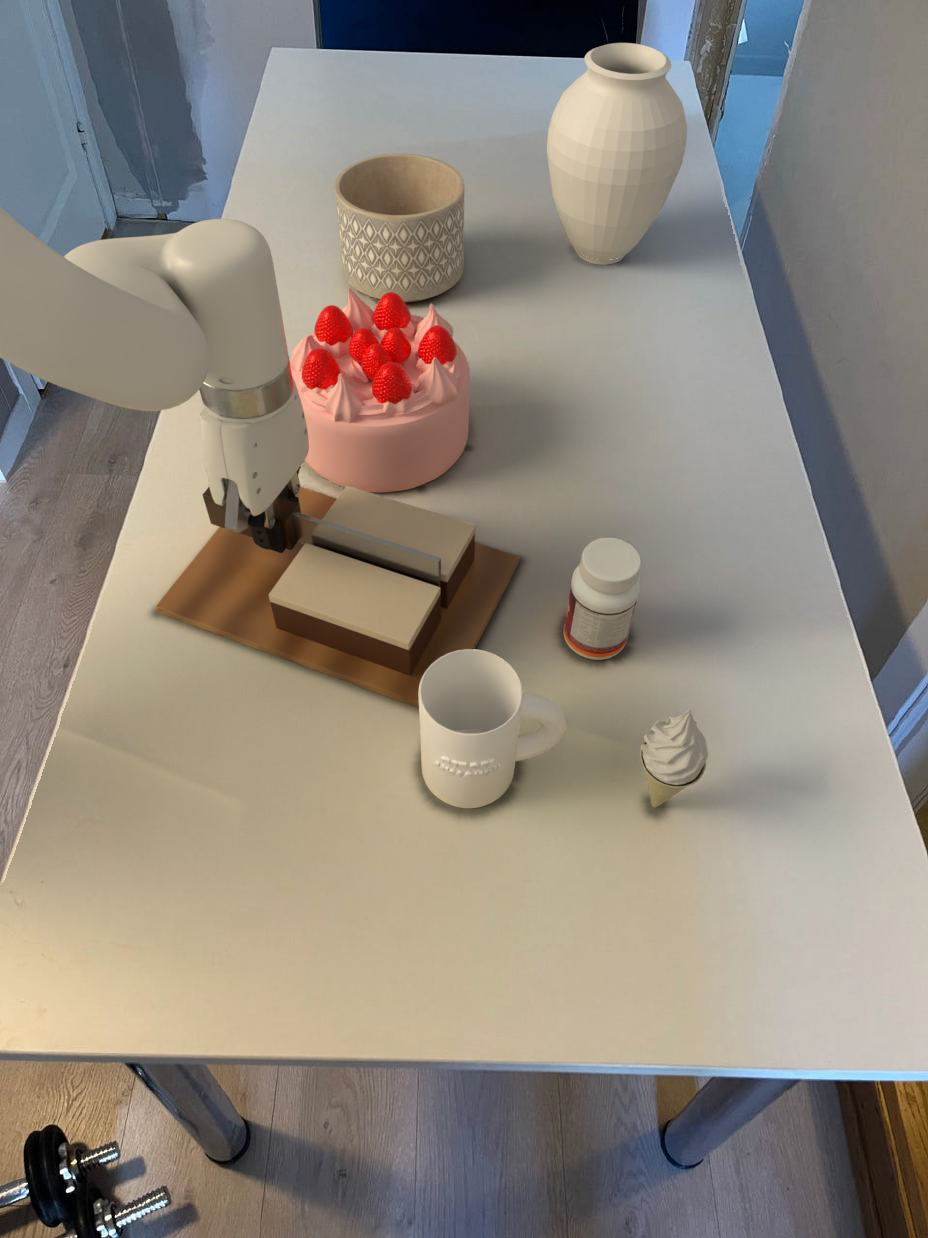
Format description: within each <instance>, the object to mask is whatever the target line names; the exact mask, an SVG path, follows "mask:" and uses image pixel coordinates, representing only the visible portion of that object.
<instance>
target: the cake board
mask: <svg viewBox="0 0 928 1238" xmlns="http://www.w3.org/2000/svg"><path fill="white" fill-rule="evenodd" d="M295 496H296V497H298V499H299V504H300V509H301V513H302V514H305V515H308V516H311V517H314V518H317V519H320V520H322V519H323V518H324V516H325V515H326V513H327V512H328V511H329V509H330V508H331V506H332V505H333V504H334V502H335V501H336V499H337V498H338V497H333V496H330V495H326V494H324V493H321V492H318V491H314V490H310V489H308V488H305V487H301V486H300V491H299V493H298V494H297V495H295ZM303 546H304V544H301V543H298V542H297V544H296V545H295V546H294V548H293V549H292V550H288V549H285V550H284V552H283V553H279V552H276V551H273V550H270V549H269V550H267V549H264V548H261V547H259V546H258V545H256V544H255V543H254V540H253V538H252V537H249V536H246V535H243V534H240V533H235V532H232V531H229V530H226V529H225V528H222V527H219V526H218V528H217V530H216V531H215V532H214V534H212V536H211V537H210V538H209V540H207V542H206V543H205V545H204V546H203V547H202V548H201V550H199V552H198V553H197V554H196V556H195V557H194V558H193V559H192V561H191V562H190V563H189V564H188V565H187V567H186V568H185V569H184V570H183V572H182V573H181V574H180V576H179V577H178V578H177V579H176V580H175V581H174V583H173V584H172V585H171V587H169V589H168V591H166V593H165V594H164V595H163V596H162V598H161V599H160V600H159V602H158V603H157V604H156V605H155V608H156V611H157V613H158V614H161V615H163V616H166V617H169V618H172V619H175V620H177V621H180V622H183V623H186V624H189V625H191V626H193V627H197V628H199V629H202V630H204V631H208V632H211V633H213V634H215V635H218V636H221V637H224V638H227V639H229V640H232V641H234V642H237V643H240V644H243V645H246V646H248V647H251V648H254V649H256V650H259V651H261V652H262V651H263V652H265V653H267V654H270V655H273V656H276V657H279V658H282V659H284V660H287V661H290V662H292V663H294V664H297V665H300V666H303V667H305V668H308V669H311V670H314V671H317V672H319V673H322V674H325V675H328V676H331V677H333V678H336V679H339V680H341V681H343V682H344V681H345V682H347V683H350V684H352V685H354V686H358V687H361V688H363V689H366V690H369V691H371V692H374V693H377V694H379V695H383V696H385V697H387V698H391V699H393V700H397V701H399V702H401V703H404V704H407V705H410V706H411V707H412V706H413V707H416V708H418V709H419V697H418V693H419V685H420V681H421V679H422V677H423V675H424V673H425V671H426V670H427V669H428V668H429V667H430V665H431V664H432V663H433V662H435V661H436V660H437V659H439V658H440V657H442V656H444V655H446V654H448V653H451V652H454V651H457V650H464V649H476V648H477V646H478V644H479V642H480V640H481V638H482V637H483V634H484V632H485V630H486V628H487V626H488V625H489V622H490V620H491V619H492V617H493V614H494V612H495V610H496V608H497V607H498V605H499V602H500V601H501V599H502V597H503V594H504V593H505V591H506V589H507V587H508V585H509V583H510V581H511V579H512V577H513V575H514V573H515V571H516V569H517V567H518V565H519V563H520V556H519V555H517V554H514V553H511V552H507V551H505V550H502V549H498V548H496V547H495V548H494V547H492V546H489V545H485V544H483V543H479V542H476V541H475V556H474V561H473V563H472V565H471V567H470V568H469V570H468V572H467V574H466V576H465V578H464V579H463V581H462V583H461V585H460V587H459V589H458V590H457V592H456V594H455V596H454V598H453V599H452V601H451V603H450V605H449V607H448V608H447V609H446V608H443V607H441V621H440V623H439V625H438V627H437V629H436V631H435V632H434V634H433V636H432V638H431V640H430V641H429V643H428V645H427V647H426V649H425V651H424V652H423V654H422V656H421V658H420V660H419V662H418V663H417V665H416V667H415V669H414V671H413V672H412V674H411V676H409V675H406V674H403V673H401V672H398V671H395V670H392V669H389V668H387V667H384V666H381V665H378V664H376V663H373V662H370V661H367V660H364V659H362V658H359V657H356V656H353V655H350V654H348V653H345V652H342V651H339V650H336V649H334V648H331V647H328V646H325V645H322V644H320V643H317V642H314V641H311V640H308V639H306V638H303V637H300V636H297V635H294V634H292V633H289V632H286V631H283V630H280V629H278V628H276V624H275V620H274V616H273V612H272V608H271V604H270V599H269V593H270V592H271V591H272V589H273V588H274V586H275V585H276V584H277V582H278V581H279V579H280V578H281V577H282V575H283V574H284V572H285V571H286V570H287V568H288V567H289V565H290V564H291V563H292V561H293V560H294V558H295V557H296V556H297V554H298V553H299V551H300V550H301V549H302V547H303Z"/></svg>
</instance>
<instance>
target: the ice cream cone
mask: <svg viewBox="0 0 928 1238" xmlns="http://www.w3.org/2000/svg"><path fill="white" fill-rule="evenodd" d="M643 740H644V741H643V743H642V744H640V753H639V754H640V755H639V756H640V757H639V758H640V763H641V765H642V767H643V769H644V774H645V779H646V785H647V789H648V794H649V799H650V805H651V808H654V809H657V808H658V807H659V806H661V805H662V804H664V803H666V802H667V801H669V800H670V799H671V798H674V796H676V795H677V794H679V793H680V792H682V791H683V790H685V789H687V787H691V786H692V785H694V784H695V783H697V782H698V781H699V780H700V779H702V778H703V776H704V774H705V771H706V767H707V760H708V757H709V752H708V745H707V740H706V737H705V736H704V734H703V732H702V731H701V730H700V729H699V727H698V725H697V721H696V720H695V719H694V716H693V714H692V709H688V710H686V711H684V712H683V713H681V714H680V715H678V716H676V717H674V716H668V717H666V721H664V720H657V721H656V722H655V723H653V725H652V726H651V730H650V731H648V732H646V733H644V736H643Z"/></svg>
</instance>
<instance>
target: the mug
mask: <svg viewBox="0 0 928 1238" xmlns="http://www.w3.org/2000/svg"><path fill="white" fill-rule="evenodd" d="M520 678H521V677H520V676H519V675H518V673H517V672H516V670H515V669H514V667H512V665H511V664H510V663H509V662H507V661H506V660H505V659H503V658H502V657H501V656H498V655H497V654H495V653H492V652H490V651H487V650H481V649H478V648H477V649H476V648H475V649H464V650H457V651H454V652H451V653H448V654H446V655H444V656H442V657H440V658H439V659H437V660H436V661H435V662H433V663H432V664H431V665H430V667H429V668H428V669H427V670H426V671H425V673H424V675H423V677H422V679H421V681H420V685H419V693H418V697H419V708H418V716H419V717H418V718H419V738H420V739H419V740H420V761H421V763H420V764H421V773H422V777H423V780H424V782H425V783H424V784H425V785H426V786H427V788H428V789H429V791H430V792H431V793H432V794H433V795H434V796H435V797H436V798H437V799H439V800H440V801H442V802H443V803H445V804H446V805H447V804H448V805H450V806H452V807H456V808H460V809H461V808H462V809H477V808H481V807H485V806H487V805H490V804H492V803H493V802H495V801H496V800H498V799H500V798H501V797H502V796H503V795H504V794H505V793H506V791H507V790H508V789H509V788H510V786H511V783H512V781H513V779H514V775H515V768H516V762H521V761H526V760H528V759H532V758H535V757H537V756H541V755H542V754H544V753H547V752H548V751H550V750H551V749H553V748H554V747H555V746H556V745H557V744H559V742H560V741H561V740H562V738H564V736H565V734H566V730H567V717H566V715H565V712H564V711H563V709H562V708H561V706H559V704H557V703H556V702H554V701H553V700H552V699H549V698H547V697H544V696H542V695H539V694H535V693H529V692H524V688H523V684H522V680H521V679H520ZM522 718H523V719H524V718H525V719H531V720H534V721H535V720H536V721H538V722H541V723H542V725H541V726H540V727H538V728H537V729H536V730H534V731H532V732H530V733H527V734H524V735H521V736H519V735H520V729H521V728H520V727H521V726H520V725H521V719H522Z"/></svg>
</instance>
